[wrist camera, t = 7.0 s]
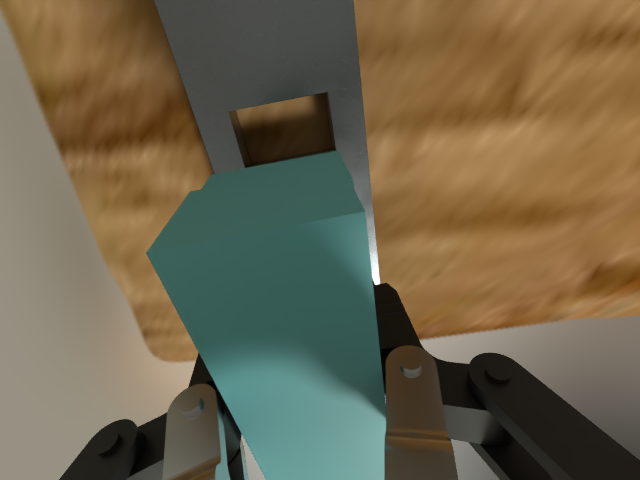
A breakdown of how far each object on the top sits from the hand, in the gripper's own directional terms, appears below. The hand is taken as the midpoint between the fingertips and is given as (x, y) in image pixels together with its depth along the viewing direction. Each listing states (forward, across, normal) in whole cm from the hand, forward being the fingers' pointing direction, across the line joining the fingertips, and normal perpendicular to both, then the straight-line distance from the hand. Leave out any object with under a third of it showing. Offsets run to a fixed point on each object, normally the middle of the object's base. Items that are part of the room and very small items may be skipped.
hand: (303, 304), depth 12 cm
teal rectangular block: (+2, 0, 0) cm, 2 cm away
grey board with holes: (+14, 0, 0) cm, 14 cm away
